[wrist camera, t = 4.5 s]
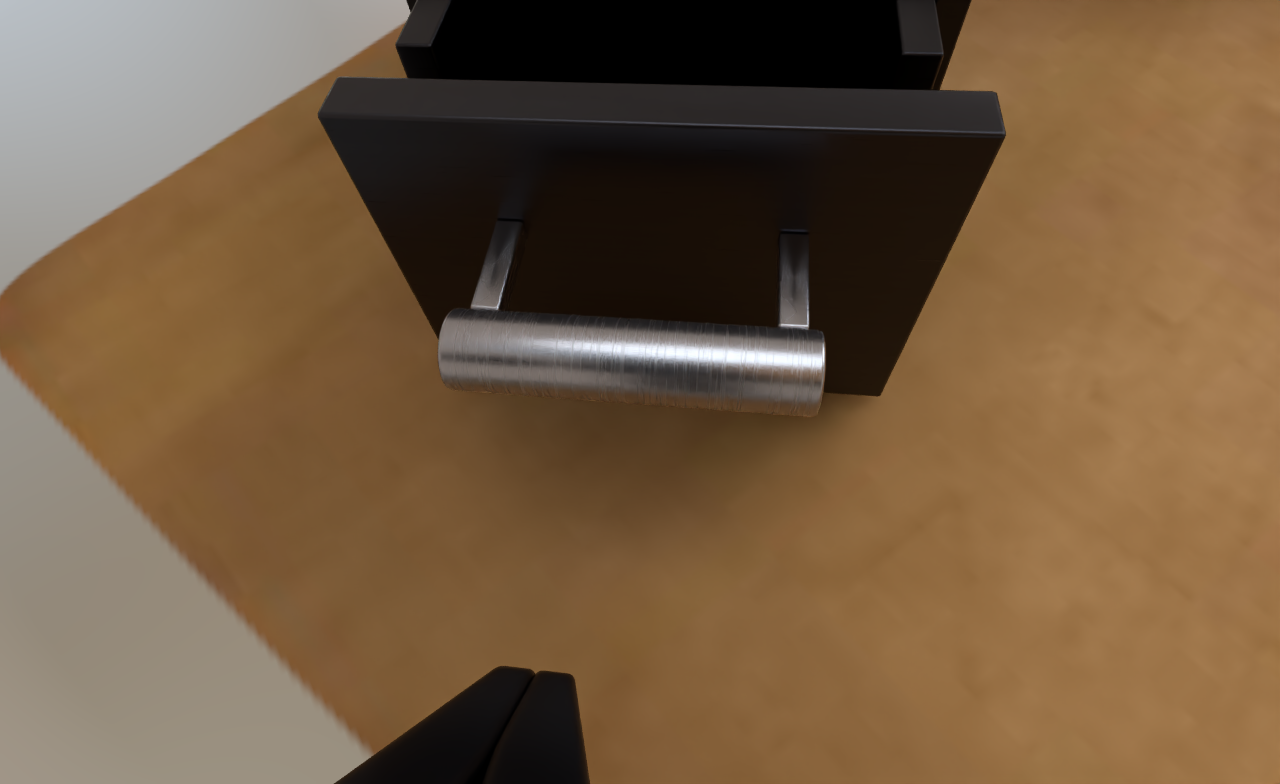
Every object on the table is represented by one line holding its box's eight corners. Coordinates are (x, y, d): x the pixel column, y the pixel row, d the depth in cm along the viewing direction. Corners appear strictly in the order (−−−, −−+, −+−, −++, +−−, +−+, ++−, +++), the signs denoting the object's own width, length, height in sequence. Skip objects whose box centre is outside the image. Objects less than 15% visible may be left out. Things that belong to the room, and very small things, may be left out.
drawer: (890, 536, 17) (1052, 328, 9) (414, 492, 18) (224, 279, 11) (858, 72, 26) (928, -221, 19) (543, 66, 28) (489, -209, 20)
